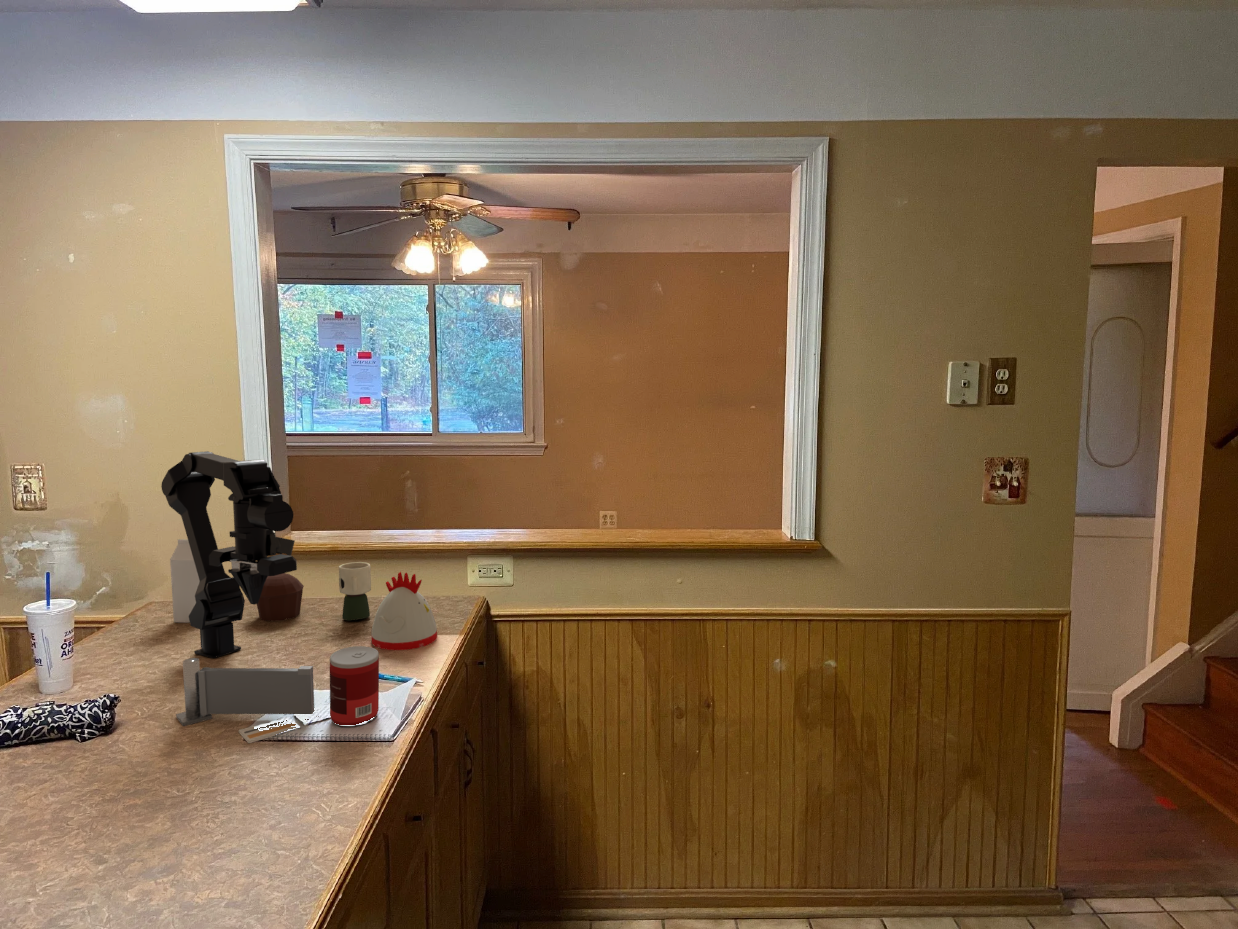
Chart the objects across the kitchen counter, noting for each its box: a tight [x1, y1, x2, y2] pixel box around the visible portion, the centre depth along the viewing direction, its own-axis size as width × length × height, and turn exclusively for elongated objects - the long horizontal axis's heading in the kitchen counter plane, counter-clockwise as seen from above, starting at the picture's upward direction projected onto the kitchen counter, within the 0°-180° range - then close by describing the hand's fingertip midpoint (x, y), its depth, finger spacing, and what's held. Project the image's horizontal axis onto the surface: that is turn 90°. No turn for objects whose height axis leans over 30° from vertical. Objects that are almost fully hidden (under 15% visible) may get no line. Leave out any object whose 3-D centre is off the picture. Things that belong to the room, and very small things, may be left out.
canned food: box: [329, 645, 380, 726], centre depth 131 cm, size 8×8×11 cm
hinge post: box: [175, 657, 213, 727], centre depth 130 cm, size 4×4×10 cm
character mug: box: [338, 561, 372, 622], centre depth 184 cm, size 11×7×13 cm, turn 16°
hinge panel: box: [198, 665, 315, 715], centre depth 130 cm, size 18×2×8 cm, turn 90°
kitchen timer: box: [370, 571, 438, 651], centre depth 170 cm, size 14×14×15 cm
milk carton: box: [169, 538, 200, 623], centre depth 183 cm, size 7×7×19 cm
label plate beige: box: [238, 720, 296, 744], centre depth 127 cm, size 8×5×1 cm, turn 132°
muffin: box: [256, 573, 305, 622], centre depth 186 cm, size 12×11×10 cm
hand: (254, 603), depth 152 cm, fingers closed
